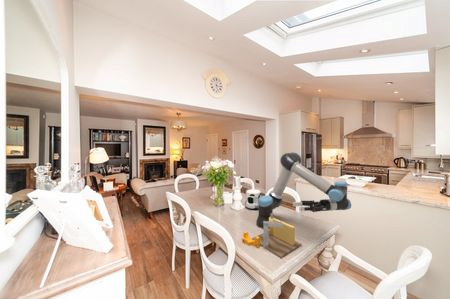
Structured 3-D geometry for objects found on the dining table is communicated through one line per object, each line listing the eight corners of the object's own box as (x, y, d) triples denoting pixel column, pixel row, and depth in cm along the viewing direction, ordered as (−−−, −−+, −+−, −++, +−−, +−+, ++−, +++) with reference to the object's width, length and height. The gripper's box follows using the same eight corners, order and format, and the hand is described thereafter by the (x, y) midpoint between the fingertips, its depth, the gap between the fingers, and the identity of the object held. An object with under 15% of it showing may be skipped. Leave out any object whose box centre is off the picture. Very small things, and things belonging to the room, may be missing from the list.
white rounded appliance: (251, 203, 200) (250, 188, 200) (264, 207, 189) (264, 190, 188) (242, 208, 187) (242, 191, 187) (256, 212, 176) (256, 194, 175)
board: (271, 230, 139) (271, 229, 139) (301, 245, 118) (301, 243, 118) (251, 240, 126) (251, 238, 126) (281, 258, 105) (281, 256, 105)
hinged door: (267, 233, 131) (267, 213, 131) (271, 231, 134) (271, 212, 133) (291, 246, 115) (291, 223, 114) (295, 243, 118) (295, 221, 117)
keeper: (263, 248, 116) (263, 222, 115) (263, 245, 119) (263, 220, 118) (282, 249, 114) (282, 224, 113) (281, 247, 117) (281, 222, 116)
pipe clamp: (242, 242, 123) (241, 233, 123) (245, 239, 126) (245, 231, 126) (256, 249, 115) (256, 239, 115) (260, 246, 118) (260, 237, 118)
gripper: (338, 216, 112) (304, 218, 109) (318, 205, 132) (289, 206, 130) (338, 204, 111) (304, 206, 109) (318, 195, 132) (289, 196, 129)
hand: (296, 206), depth 119 cm, fingers open, 8 cm apart
